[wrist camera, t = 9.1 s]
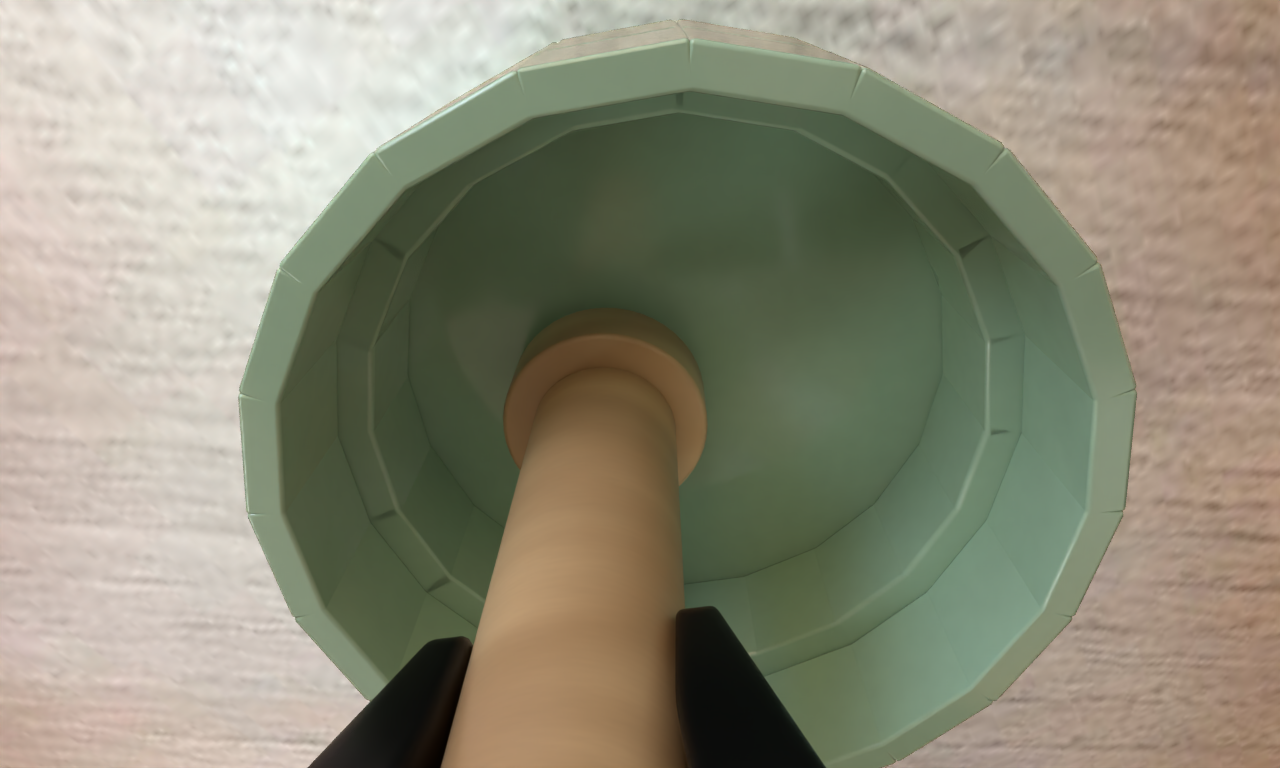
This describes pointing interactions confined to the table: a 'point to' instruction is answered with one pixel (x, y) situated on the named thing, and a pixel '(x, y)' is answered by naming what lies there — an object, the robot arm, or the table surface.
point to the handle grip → (587, 554)
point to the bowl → (709, 370)
